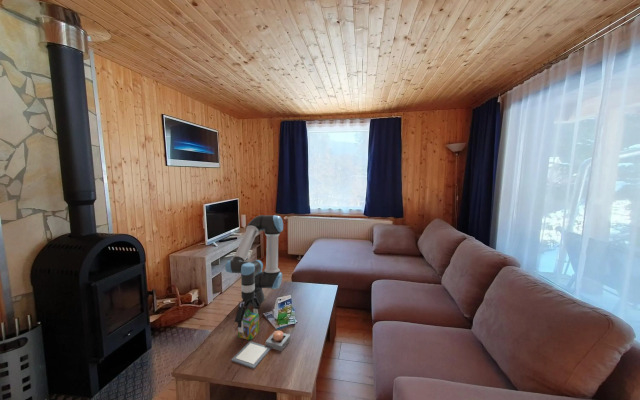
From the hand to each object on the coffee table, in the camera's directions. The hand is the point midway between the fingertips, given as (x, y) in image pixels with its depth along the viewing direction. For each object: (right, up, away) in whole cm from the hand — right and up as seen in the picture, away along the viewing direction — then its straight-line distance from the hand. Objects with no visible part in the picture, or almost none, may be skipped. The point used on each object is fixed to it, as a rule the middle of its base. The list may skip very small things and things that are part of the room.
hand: (248, 325), depth 143 cm
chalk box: (0, -6, +1) cm, 6 cm away
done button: (+19, -4, -7) cm, 20 cm away
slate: (+6, -7, -16) cm, 18 cm away
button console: (+19, -7, -6) cm, 21 cm away
